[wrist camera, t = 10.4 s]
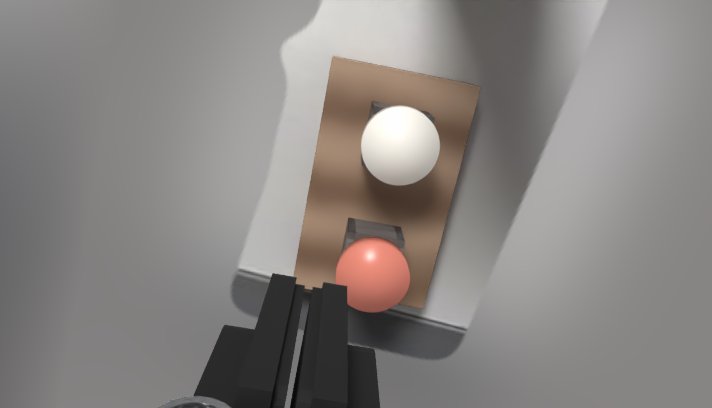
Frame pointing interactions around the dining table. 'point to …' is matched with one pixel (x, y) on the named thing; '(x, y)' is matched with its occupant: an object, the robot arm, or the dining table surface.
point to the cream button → (400, 145)
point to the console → (367, 193)
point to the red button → (373, 274)
